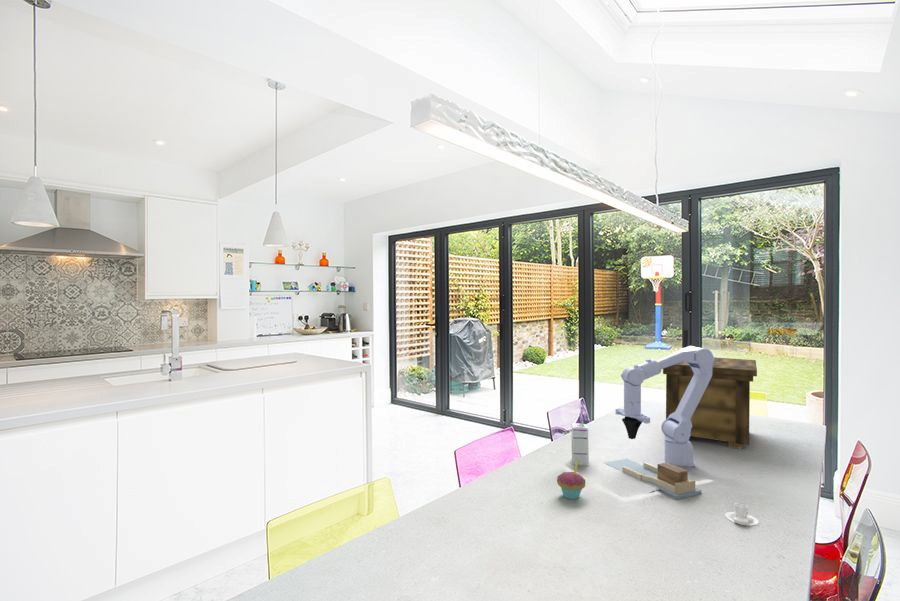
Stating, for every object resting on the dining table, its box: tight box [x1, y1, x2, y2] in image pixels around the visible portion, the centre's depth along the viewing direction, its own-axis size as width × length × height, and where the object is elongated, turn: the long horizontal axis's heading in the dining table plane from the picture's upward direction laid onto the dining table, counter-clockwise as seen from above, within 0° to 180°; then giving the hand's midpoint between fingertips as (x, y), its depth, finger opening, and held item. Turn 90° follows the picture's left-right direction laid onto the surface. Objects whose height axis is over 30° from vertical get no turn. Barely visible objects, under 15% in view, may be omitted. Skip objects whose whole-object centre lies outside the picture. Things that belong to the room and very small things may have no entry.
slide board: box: [604, 458, 702, 501], centre depth 158 cm, size 11×31×4 cm, turn 24°
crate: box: [662, 356, 758, 449], centre depth 206 cm, size 35×35×33 cm
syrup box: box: [571, 422, 590, 467], centre depth 170 cm, size 6×6×14 cm
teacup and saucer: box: [724, 502, 760, 527], centre depth 129 cm, size 9×8×4 cm
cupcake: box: [556, 459, 586, 500], centre depth 144 cm, size 9×8×12 cm
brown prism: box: [657, 462, 689, 486], centre depth 149 cm, size 4×8×6 cm, turn 24°
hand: (632, 438), depth 170 cm, fingers closed
